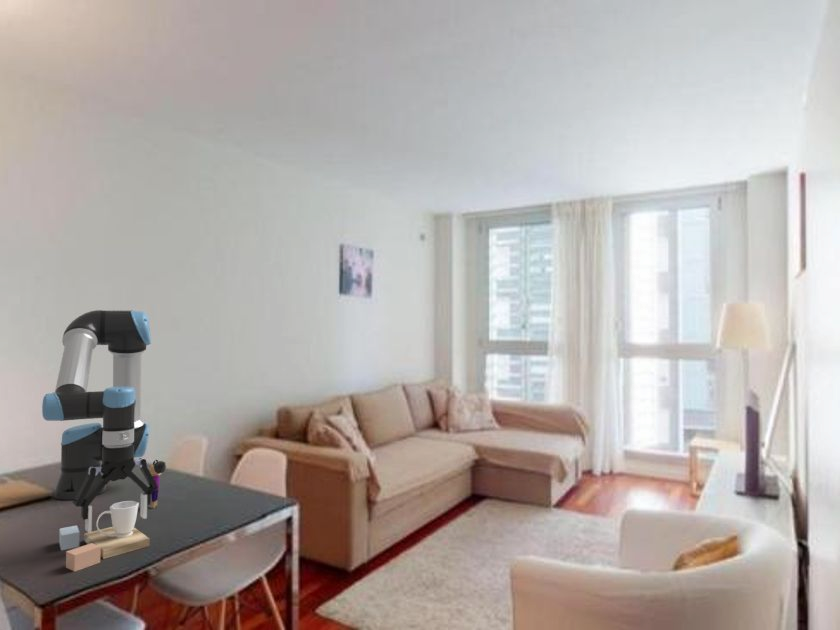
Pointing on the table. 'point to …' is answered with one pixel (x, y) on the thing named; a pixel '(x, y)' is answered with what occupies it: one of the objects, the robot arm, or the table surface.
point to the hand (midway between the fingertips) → (116, 524)
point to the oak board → (116, 542)
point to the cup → (122, 518)
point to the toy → (156, 479)
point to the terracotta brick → (83, 557)
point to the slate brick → (69, 537)
